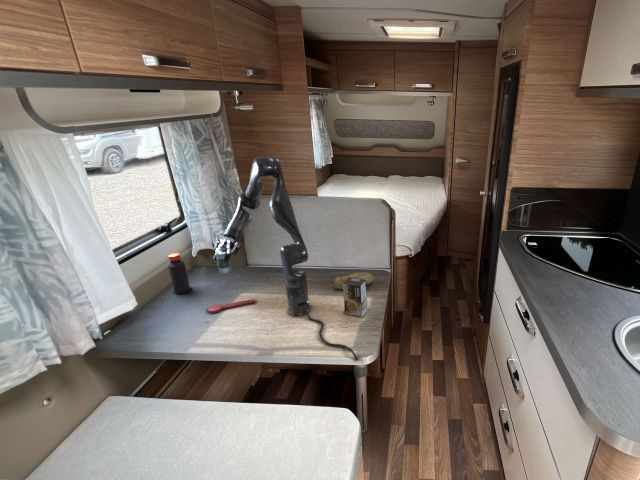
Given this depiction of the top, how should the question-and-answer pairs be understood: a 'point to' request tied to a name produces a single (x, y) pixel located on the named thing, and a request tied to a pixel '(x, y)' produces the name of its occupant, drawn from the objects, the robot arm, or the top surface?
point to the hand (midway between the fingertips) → (220, 260)
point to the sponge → (342, 279)
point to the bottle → (178, 274)
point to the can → (222, 265)
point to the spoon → (228, 306)
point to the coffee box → (355, 296)
